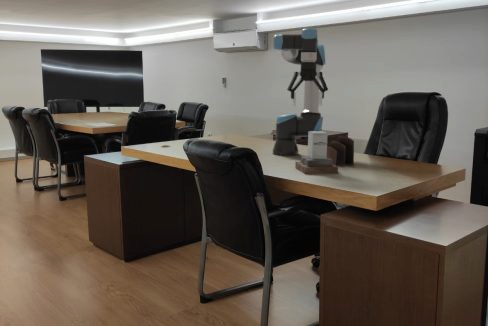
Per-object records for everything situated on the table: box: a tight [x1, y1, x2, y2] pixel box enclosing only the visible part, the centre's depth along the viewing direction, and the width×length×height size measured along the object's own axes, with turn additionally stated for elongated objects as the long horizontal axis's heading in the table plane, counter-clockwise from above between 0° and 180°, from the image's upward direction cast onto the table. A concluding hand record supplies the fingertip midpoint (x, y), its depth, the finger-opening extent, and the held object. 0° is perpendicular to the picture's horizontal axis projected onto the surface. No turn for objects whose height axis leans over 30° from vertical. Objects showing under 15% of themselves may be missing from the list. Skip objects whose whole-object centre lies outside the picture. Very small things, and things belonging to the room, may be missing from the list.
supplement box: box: [306, 130, 328, 159], centre depth 226 cm, size 7×7×13 cm
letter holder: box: [327, 135, 355, 167], centre depth 250 cm, size 10×20×14 cm, turn 12°
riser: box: [294, 155, 339, 175], centre depth 228 cm, size 16×16×6 cm
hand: (307, 105), depth 236 cm, fingers open, 13 cm apart
